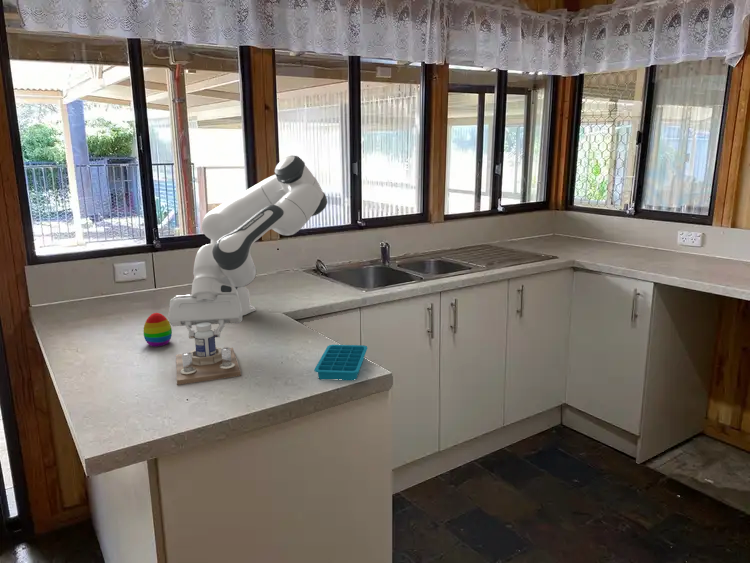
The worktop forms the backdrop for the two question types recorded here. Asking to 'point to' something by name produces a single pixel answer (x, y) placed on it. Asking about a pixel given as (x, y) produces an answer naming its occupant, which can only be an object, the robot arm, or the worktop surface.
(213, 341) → the pill bottle
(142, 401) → the worktop surface
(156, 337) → the decorative egg
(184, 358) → the steel pins
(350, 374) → the ice cube tray
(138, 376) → the worktop surface
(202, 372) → the board
